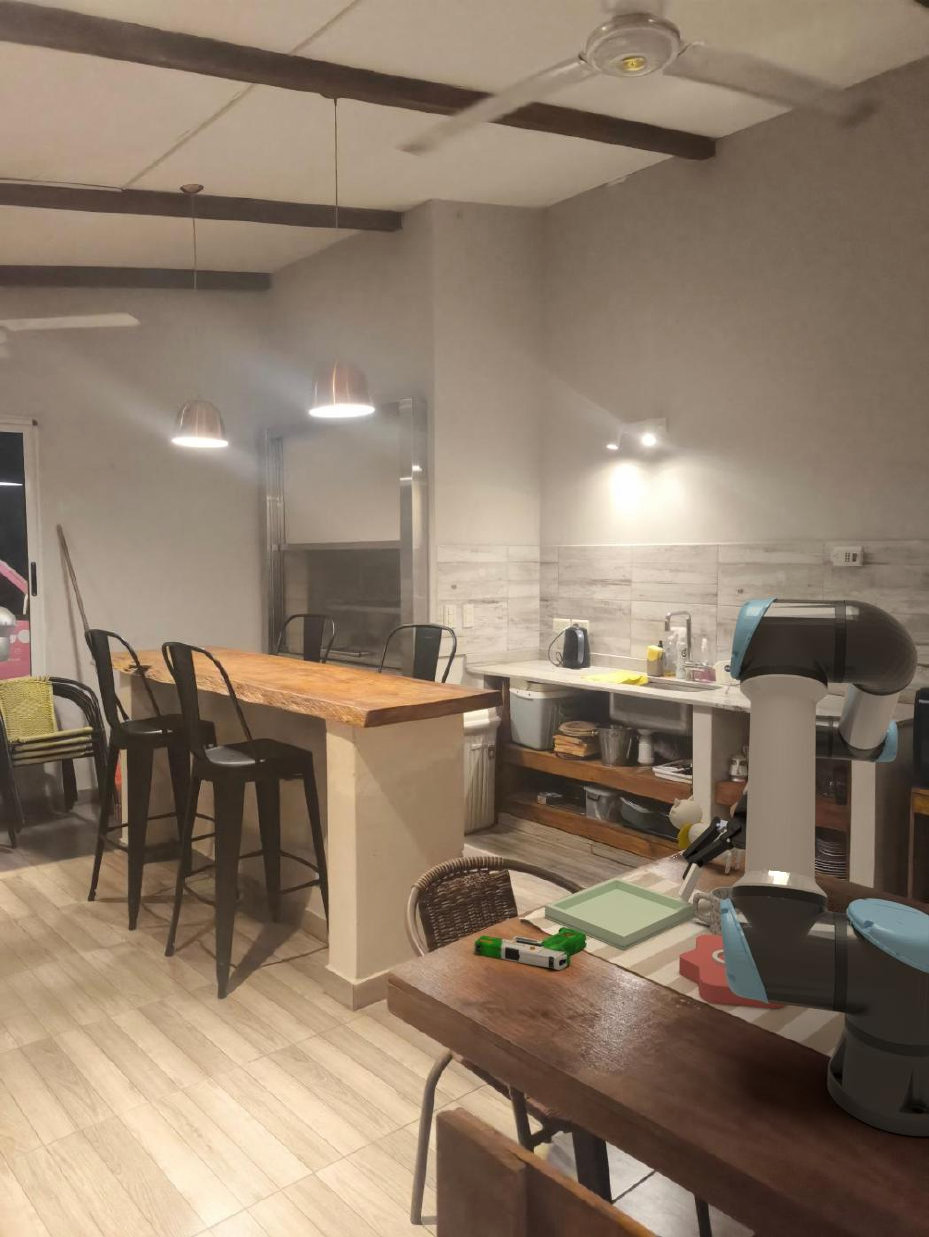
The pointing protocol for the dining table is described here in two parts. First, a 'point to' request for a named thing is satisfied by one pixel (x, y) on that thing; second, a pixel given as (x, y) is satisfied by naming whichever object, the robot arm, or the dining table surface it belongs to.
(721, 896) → the mug
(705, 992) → the plaque
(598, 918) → the tray
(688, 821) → the toy
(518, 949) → the handgun
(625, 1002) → the dining table surface
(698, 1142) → the dining table surface
